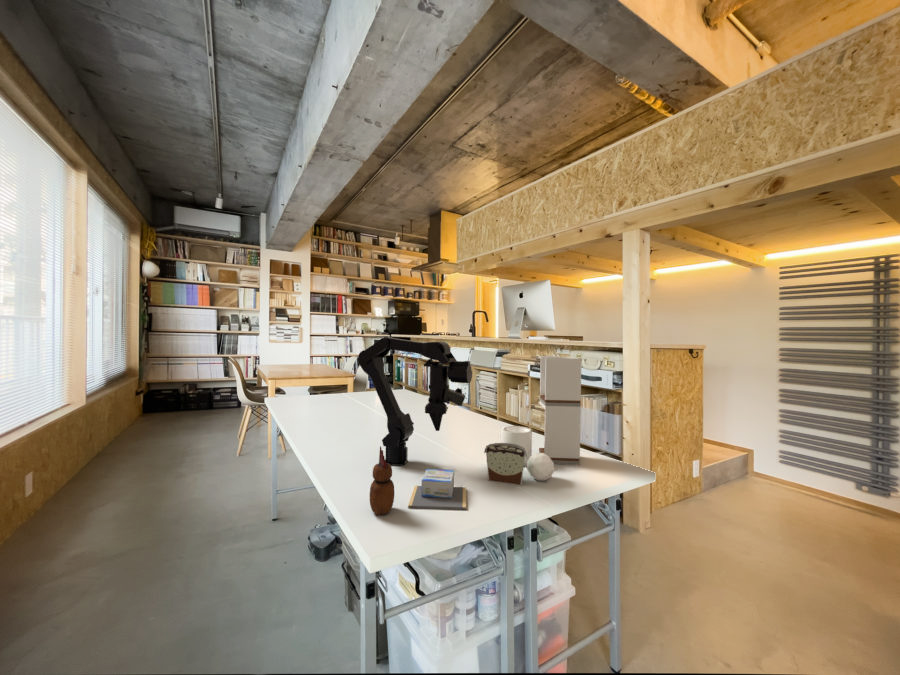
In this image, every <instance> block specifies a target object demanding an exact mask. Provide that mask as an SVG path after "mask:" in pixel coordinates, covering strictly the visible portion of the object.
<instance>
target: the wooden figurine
mask: <svg viewBox="0 0 900 675" xmlns="http://www.w3.org/2000/svg"><path fill="white" fill-rule="evenodd" d="M378 456H379V457H378V463H376V464H375V465H373V468H372V479H373V481H372V482H371V484H370V487H369V488H370V489H369V506H370V509H371V511H372V513H374V514H376V515H378V516H382V515H386V514H388V513H390V511H391V510H392V508H393V506H394V501H395V485H394V482H393V481H392V480H391V479H392V477H393V468H392V465H390V464H388V463H386V461H385V458H386V457H385V455H384V450H383V449H382V446H379V455H378Z"/></svg>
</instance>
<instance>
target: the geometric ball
mask: <svg viewBox="0 0 900 675" xmlns="http://www.w3.org/2000/svg"><path fill="white" fill-rule="evenodd" d="M526 466H527V468H526V469H527V471H528V473H529V475H530V476H531V477H532V478H533V479H534V480H536V481H546V480H548V479H550V478H552V475H553V474H554V471H555V464H554V463H553V461H552V460H551V459H550V457H549V456H547V455H546V454H544V453H539V452H537V453H534V454H532V456H530V458H529V460H528V462H527V465H526Z"/></svg>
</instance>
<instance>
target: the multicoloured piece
mask: <svg viewBox="0 0 900 675" xmlns="http://www.w3.org/2000/svg"><path fill="white" fill-rule="evenodd" d="M483 454H485V456H486V465H487V468H486V469H487V477H488V482H491V483H498V484H507V485H513V486H522V483H523V481H522V480H523V472H524V458H525V455H526V458H527V454H526V451H525V449H524V448H523V447H522V446H519V445H516V444H510V443H501V442H495V443H490V444H488V445H486V446H485V447H484V452H483Z"/></svg>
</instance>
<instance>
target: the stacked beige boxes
mask: <svg viewBox="0 0 900 675" xmlns="http://www.w3.org/2000/svg"><path fill="white" fill-rule="evenodd" d="M539 358H540V360H539V362H540V363H539V365H540V367H539V370H540V371H539V372H540V373H539V377H540V378H539V405H540V406H541V408H543V409H544V438H543V439H544V441H543V442H544V443H543V445H544V447H539V448H538V453H544V454H546V455H547V456H549V457H550V459H551V460H552V461H553V463H554V465H573V466H574V465H575V466H580V465H581V464H580V463H581V462H580V461H581V460H580V459H581V411H582V410H581V408H582V407H581V404H582V403H581V402H582V401H581V400H582V399H581V398H582V397H581V396H582V395H581V394H582V358H579V357H575V356H552V355H551V356H550V355H549V356H547V355H546V356H545V355H543V356H541V355H540V357H539Z"/></svg>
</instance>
